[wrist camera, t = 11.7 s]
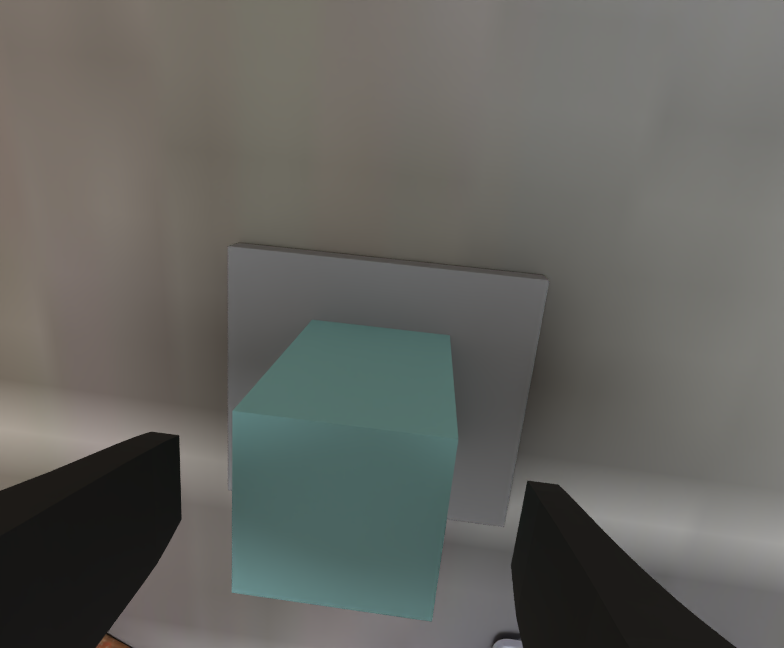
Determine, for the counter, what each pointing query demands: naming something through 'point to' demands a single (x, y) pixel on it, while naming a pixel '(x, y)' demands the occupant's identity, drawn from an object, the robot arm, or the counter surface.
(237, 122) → the counter surface
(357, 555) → the block
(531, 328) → the pad
